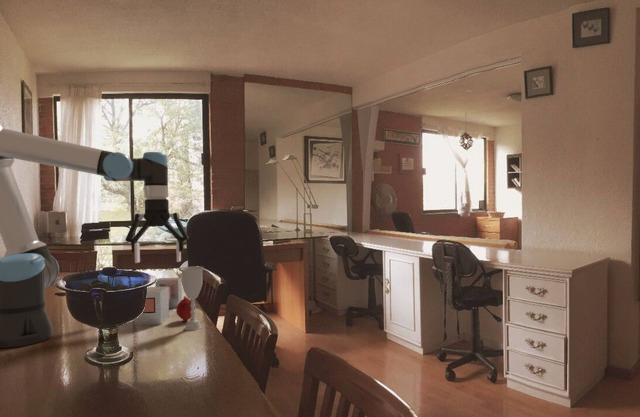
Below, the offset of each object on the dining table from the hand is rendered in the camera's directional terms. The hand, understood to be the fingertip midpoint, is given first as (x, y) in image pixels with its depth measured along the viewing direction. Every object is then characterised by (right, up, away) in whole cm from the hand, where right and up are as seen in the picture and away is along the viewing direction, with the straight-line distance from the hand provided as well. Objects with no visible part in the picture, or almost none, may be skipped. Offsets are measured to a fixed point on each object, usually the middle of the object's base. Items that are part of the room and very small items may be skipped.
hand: (158, 262), depth 146 cm
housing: (+1, -18, -7) cm, 19 cm away
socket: (-1, -18, +12) cm, 22 cm away
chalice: (+16, -18, -15) cm, 29 cm away
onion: (+12, -18, -8) cm, 23 cm away
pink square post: (0, -14, -2) cm, 14 cm away
